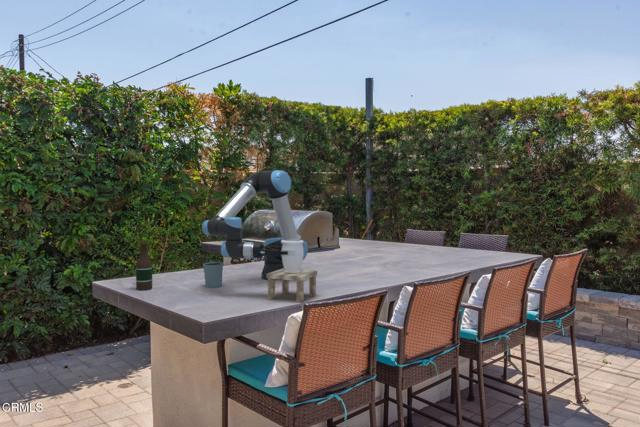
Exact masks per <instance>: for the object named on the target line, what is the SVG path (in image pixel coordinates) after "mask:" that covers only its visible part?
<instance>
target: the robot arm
mask: <svg viewBox="0 0 640 427" xmlns="http://www.w3.org/2000/svg"><path fill="white" fill-rule="evenodd" d="M291 185H292V179H291V177H290V174H288V173H287V172H286V171H284V170H279V169H276V170H258V171H256V172H254V173H253V174H251V175H250V176H248V177H247V178H246V179H245V180H244V181H243V182H242V183H241V184H240V186H239V187H240V188H239V189H238V190H237V191H236V192H235V194H233V195H232V197H231V198H230V199H229V200H228V201H227V203H225V204H224V206H223V207H222V208H221V209H220V210H219V211H218V212H217V213H216V215H214V217H213V218H212V219H207V220H205V221H203V223H202V224H201V225H202V226H201V228H202V232H203V234H204V235H206V236H210V237H211V236H212V237H213V236H214V237H225V241H224V242H222V243H221V246H220V254H221V256H222V257H224V258H230V259H247V260H249V259H262V258H263V256H264V258H263V260H264V261H263V262H264V265H263V268H262V271H261V277H260V278H261V279H263V280H268V278H267V274H268V273H271V272H274V271H277V270H280V269H283V268H284V266H283V261H282V256H295V250H282V245H283V243H282V240H303V239H302V237H301V235H300V234H298V231H297V228H296V224H295V220H294V216H293V213H292V212H293V211H292V210H291V205H290V201H289V197H288V195H289V193H290V190H291V189H292V186H291ZM261 193H266V194H267V195H266V196H267V198H268V199H269V200H271V202H272V205H273V208H274V209H273V210H274V213H275V216H276V220H277V224H278V227H279V230H280V235H281V237H272V238H266V239H265V240H264V244H263V243H262V242H252V241H247V242H246V241H244V242H243V224H242V223H243V222H242V218H241V217H237V215H238V213H239V212H240V211H241V210H242V209H243V208H244V207H245V205H246V204H247V203H249V201H250V200H251V198H255V197H256V196H257V195H258V194H261ZM302 245H303V261H305V259H306V257H307V255H308V251H309V249H308V248H309V247H308V242H306V241H304V240H303V243H302ZM276 280H278V281H279V279H275V281H276Z"/></svg>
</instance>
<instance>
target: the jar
mask: <svg viewBox="0 0 640 427" xmlns="http://www.w3.org/2000/svg"><path fill="white" fill-rule="evenodd" d="M303 241H304V240H303V239H302V240H282V243H283V245H282V250H295V256H282V261H283V266H284V268H285V270H284V272H285V273H300V272H301V268H302V265H303V262H304V260H303V245H302V243H303Z"/></svg>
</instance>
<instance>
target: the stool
mask: <svg viewBox="0 0 640 427" xmlns="http://www.w3.org/2000/svg"><path fill="white" fill-rule="evenodd" d="M300 269H301V268H300ZM284 270H285V268H283V269H280V270H277V271H274V272H271V273H268V274H267V278H268V279H267V300H269V301H272V300H273V301H274V300H275V299H276V280H275V279H278V280H281V293H282V294H284V295H285V294H286V295H287V294H289V292H290V291H289V290H290V281H295V282H296V303H302V304H303V303H304V301H305V300H304V298H305V296H304V294H305V291H304V288H305V286H304V283H305V282H304V281H305V280H309V286H308V287H309V295H308V296H309V297H315V296H317V275H318V270H316V269H315V270H314V269H301V272H300V273H285V272H284Z"/></svg>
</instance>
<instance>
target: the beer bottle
mask: <svg viewBox="0 0 640 427" xmlns="http://www.w3.org/2000/svg"><path fill="white" fill-rule="evenodd" d="M139 247H140V248H139V258H138V260H137V262H136V264H135V277H136V278H135V283H136V284H135V288H136V290H137V291H149V290H152V289H153V263H152V260H151V259H150V258H149V253H148V252H149V251H148V242H146V241H142V242H140V243H139Z"/></svg>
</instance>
